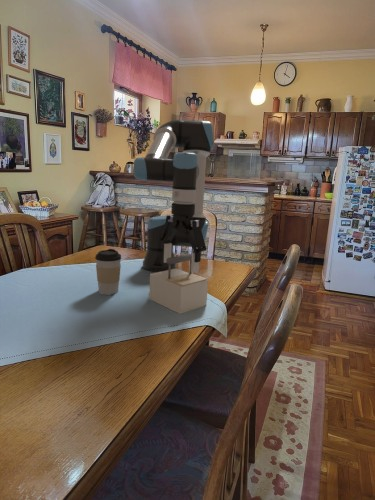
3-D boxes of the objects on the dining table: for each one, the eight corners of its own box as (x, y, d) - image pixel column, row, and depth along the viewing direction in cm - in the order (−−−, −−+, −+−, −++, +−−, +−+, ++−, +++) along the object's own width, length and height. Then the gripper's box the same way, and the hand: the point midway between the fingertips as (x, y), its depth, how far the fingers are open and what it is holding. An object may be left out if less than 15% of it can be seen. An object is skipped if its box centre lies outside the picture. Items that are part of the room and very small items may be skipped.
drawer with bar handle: (189, 273, 124) (190, 252, 122) (207, 280, 118) (208, 258, 116) (165, 279, 117) (166, 257, 115) (182, 286, 111) (183, 263, 109)
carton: (174, 291, 132) (175, 267, 130) (206, 305, 121) (208, 280, 118) (148, 298, 124) (148, 273, 122) (180, 314, 112) (181, 287, 110)
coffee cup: (115, 297, 124) (115, 255, 120) (91, 293, 125) (90, 252, 122) (124, 288, 132) (125, 249, 129) (102, 285, 134) (101, 247, 131)
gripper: (150, 199, 120) (148, 259, 125) (203, 207, 102) (198, 278, 107) (167, 198, 125) (165, 257, 130) (220, 206, 107) (215, 273, 112)
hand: (180, 266), depth 118 cm, fingers open, 13 cm apart
